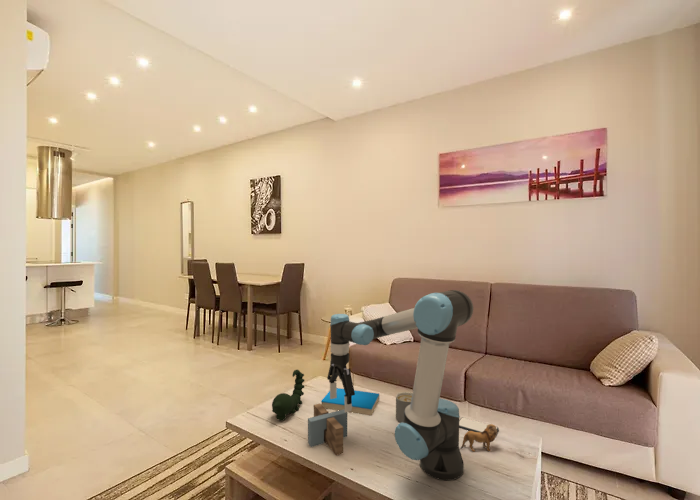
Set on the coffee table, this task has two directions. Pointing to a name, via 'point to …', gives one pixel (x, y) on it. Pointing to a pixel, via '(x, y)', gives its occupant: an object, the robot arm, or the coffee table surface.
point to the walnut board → (331, 431)
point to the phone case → (473, 425)
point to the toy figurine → (289, 399)
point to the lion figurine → (481, 437)
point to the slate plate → (324, 426)
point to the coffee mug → (402, 404)
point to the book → (360, 402)
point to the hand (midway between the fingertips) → (340, 404)
